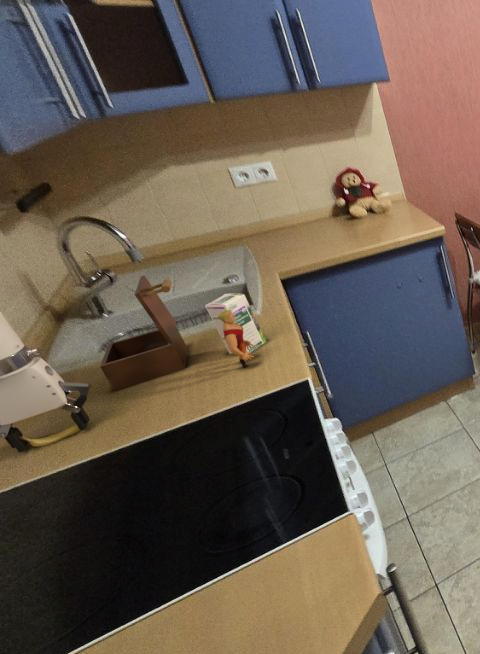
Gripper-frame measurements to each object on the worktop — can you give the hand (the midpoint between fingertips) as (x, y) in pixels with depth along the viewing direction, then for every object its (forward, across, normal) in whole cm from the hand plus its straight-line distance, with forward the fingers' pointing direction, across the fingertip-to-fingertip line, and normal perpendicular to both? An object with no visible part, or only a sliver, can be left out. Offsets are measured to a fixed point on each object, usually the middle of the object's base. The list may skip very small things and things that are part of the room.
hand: (55, 436), depth 105 cm
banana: (+2, 0, 0) cm, 2 cm away
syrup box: (+2, -32, -14) cm, 36 cm away
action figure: (+2, -32, -5) cm, 33 cm away
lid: (-13, -19, -20) cm, 30 cm away
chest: (+2, -14, -20) cm, 24 cm away
